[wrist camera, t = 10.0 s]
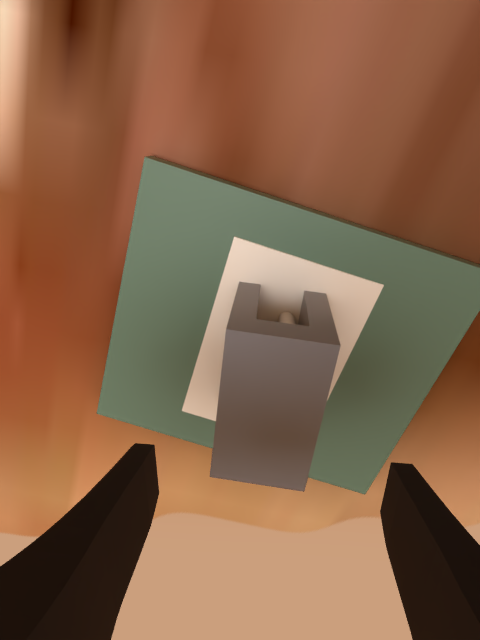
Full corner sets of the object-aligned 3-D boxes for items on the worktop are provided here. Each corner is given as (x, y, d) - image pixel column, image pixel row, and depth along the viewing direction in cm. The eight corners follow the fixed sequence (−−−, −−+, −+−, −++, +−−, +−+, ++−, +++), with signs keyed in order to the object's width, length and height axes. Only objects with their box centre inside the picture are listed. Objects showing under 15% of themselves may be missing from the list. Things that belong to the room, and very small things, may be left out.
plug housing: (326, 293, 19) (340, 345, 14) (299, 416, 22) (304, 491, 17) (239, 281, 19) (226, 329, 14) (224, 405, 22) (209, 476, 17)
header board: (490, 268, 19) (533, 296, 15) (362, 481, 24) (373, 532, 21) (151, 155, 18) (123, 160, 15) (103, 402, 24) (76, 444, 21)
